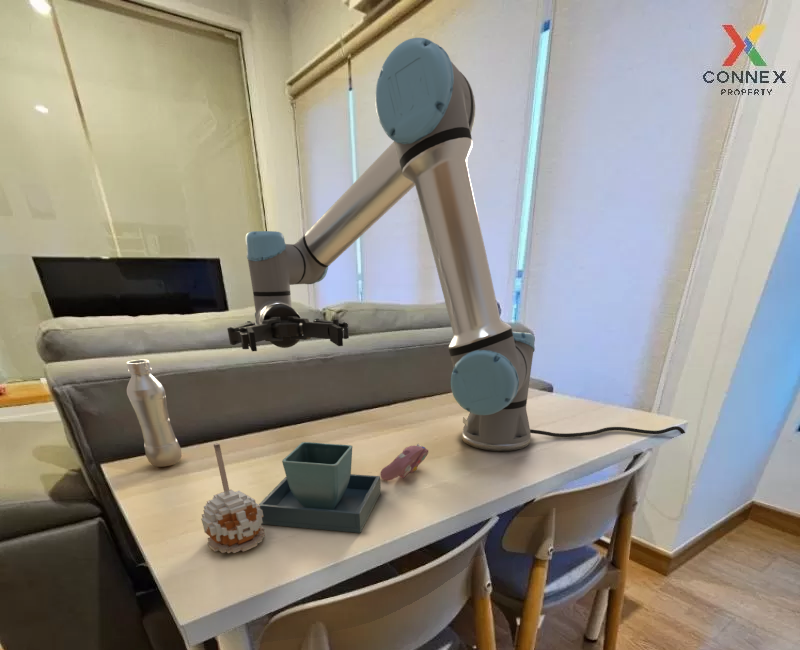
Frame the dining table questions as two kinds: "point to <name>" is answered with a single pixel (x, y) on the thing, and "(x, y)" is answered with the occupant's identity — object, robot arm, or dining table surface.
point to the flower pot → (318, 473)
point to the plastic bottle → (152, 415)
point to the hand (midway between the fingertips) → (297, 339)
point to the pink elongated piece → (404, 462)
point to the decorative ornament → (232, 517)
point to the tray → (344, 517)
